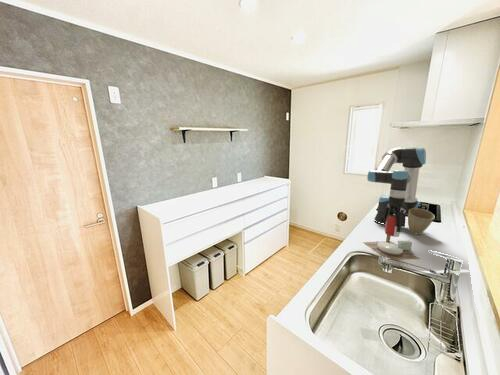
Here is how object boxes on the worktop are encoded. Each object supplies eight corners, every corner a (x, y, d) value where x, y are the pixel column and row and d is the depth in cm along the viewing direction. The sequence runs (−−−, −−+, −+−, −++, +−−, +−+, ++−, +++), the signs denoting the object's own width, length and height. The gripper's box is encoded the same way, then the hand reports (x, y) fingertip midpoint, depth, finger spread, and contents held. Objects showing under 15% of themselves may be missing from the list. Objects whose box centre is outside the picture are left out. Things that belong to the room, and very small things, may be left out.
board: (362, 243, 134) (363, 233, 133) (391, 243, 136) (392, 233, 134) (386, 261, 113) (388, 249, 111) (420, 260, 114) (422, 248, 113)
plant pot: (404, 234, 151) (410, 216, 144) (402, 224, 163) (407, 206, 156) (430, 239, 144) (437, 220, 138) (425, 228, 156) (432, 210, 149)
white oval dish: (387, 255, 117) (388, 247, 116) (372, 244, 130) (373, 237, 129) (418, 254, 118) (420, 246, 118) (400, 244, 131) (402, 236, 130)
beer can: (392, 232, 125) (395, 213, 123) (400, 237, 119) (403, 217, 117) (382, 232, 125) (384, 213, 123) (390, 237, 119) (392, 217, 117)
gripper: (379, 193, 127) (374, 228, 131) (404, 201, 108) (398, 241, 112) (390, 193, 128) (385, 227, 132) (417, 200, 108) (411, 241, 113)
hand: (391, 234), depth 122 cm, fingers closed on beer can, 7 cm apart
